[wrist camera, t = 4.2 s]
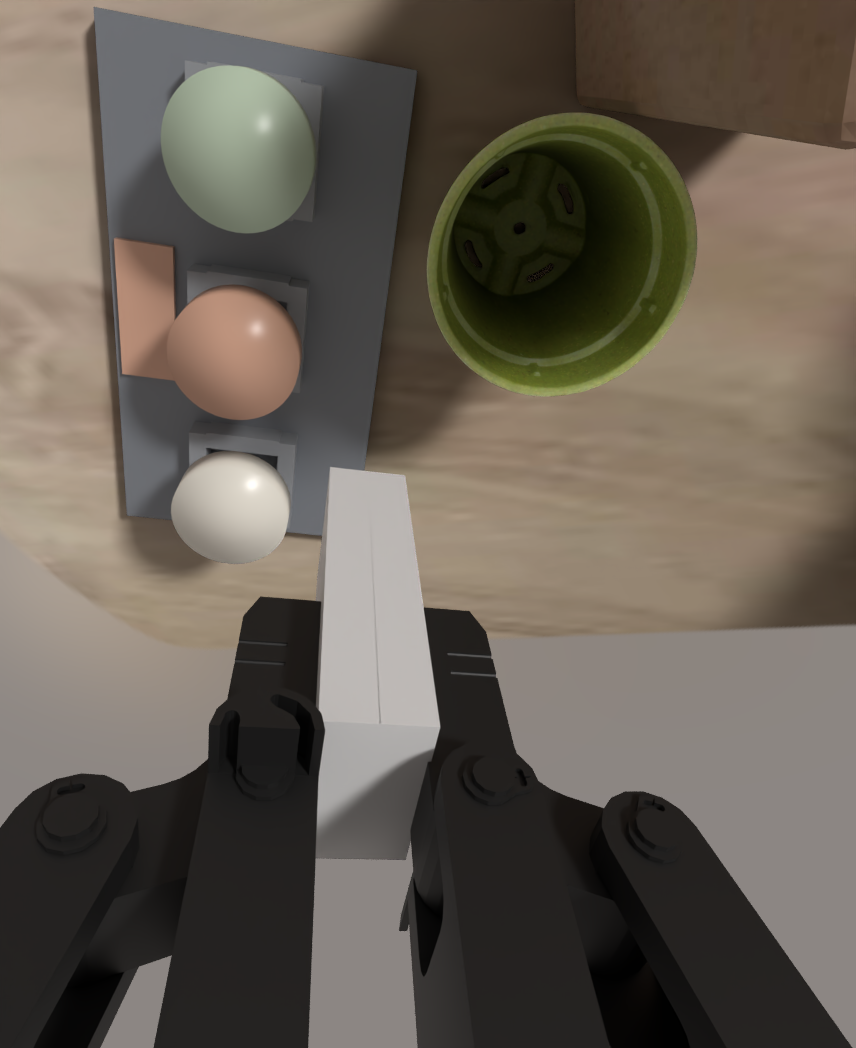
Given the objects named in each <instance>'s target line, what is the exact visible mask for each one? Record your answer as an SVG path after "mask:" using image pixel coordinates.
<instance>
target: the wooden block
mask: <svg viewBox="0 0 856 1048" xmlns="http://www.w3.org/2000/svg"><path fill="white" fill-rule="evenodd" d="M575 37H576V91H577V98H578V100H579V103H580V105H583V106H586V107H590V108H596V109H602V110H608V111H614V112H620V113H626V114H632V115H638V116H644V117H651V118H657V119H663V120H669V121H675V122H681V123H687V124H693V125H699V126H706V127H712V128H718V129H724V130H730V131H736V132H742V133H748V134H754V135H760V136H767V137H773V138H779V139H785V140H791V141H797V142H803V143H809V144H815V145H822V146H828V147H834V148H840V149H853V148H856V0H575Z"/></svg>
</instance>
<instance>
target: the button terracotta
mask: <svg viewBox="0 0 856 1048" xmlns="http://www.w3.org/2000/svg"><path fill="white" fill-rule="evenodd" d="M167 360H168V365H169V368H170V371H171V374H172V376H173V378H174V380H175V382H176V384H177V385H178V387H179V388H180V389H181V391H182V392H183V393H184V394H185V395H186V397H187V398H189V399H190V400H191V401H192V402H193V403H194V404H196V405H197V406H198V407H200V408H201V409H203V410H205V411H207V412H209V413H211V414H213V415H216V416H219V417H222V418H227V419H232V420H249V419H254V418H258V417H262V416H264V415H267V414H269V413H271V412H272V411H274V410H275V409H277V408H278V407H279V406H281V405H282V404H283V403H284V402H285V401H286V399H287V398H288V397H289V395H290V394H291V392H292V390H293V388H294V386H295V383H296V380H297V377H298V373H299V369H300V365H301V360H302V344H301V338H300V335H299V332H298V329H297V327H296V324H295V323H294V321H293V319H292V317H291V316H290V315H289V313H288V312H287V311H286V309H285V308H284V307H283V306H282V305H281V304H280V303H278V302H277V301H276V300H275V299H274V298H272V297H271V296H269V295H268V294H266V293H264V292H262V291H260V290H257V289H255V288H252V287H248V286H243V285H235V284H230V285H220V286H216V287H213V288H210V289H207V290H205V291H203V292H201V293H200V294H198V295H197V296H196V297H194V298H193V299H192V300H191V301H190V302H189V303H188V305H187V306H186V307H185V308H184V309H183V311H182V312H181V313H180V314H179V316H178V317H177V318H176V320H175V321H174V323H173V325H172V327H171V329H170V332H169V335H168V340H167Z"/></svg>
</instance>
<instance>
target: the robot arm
mask: <svg viewBox="0 0 856 1048" xmlns="http://www.w3.org/2000/svg"><path fill="white" fill-rule="evenodd" d="M410 841H411V845H412V859H413V874H412V877H411V881H410V885H409V888H408V892H407V895H406V899H405V903H404V906H403V910H402V914H401V920H400V927H399V931H407V929H408V925H410V926H409V927H410V942H411V956H412V971H413V984H414V1000H415V1014H416V1028H417V1044H418V1048H852V1047H851V1045H850V1044H849V1042H848V1041H847V1040H846V1039H845V1037H844V1035H843V1034H842V1033H841V1031H840V1030H839V1028H838V1027H837V1025H836V1024H835V1023H834V1021H833V1020H832V1019H831V1017H830V1016H829V1014H828V1013H827V1011H826V1010H825V1009H824V1007H823V1006H822V1004H821V1003H820V1001H819V1000H818V999H817V997H816V996H815V994H814V993H813V992H812V990H811V989H810V987H809V986H808V985H807V983H806V982H805V980H804V979H803V977H802V976H801V974H800V973H799V972H798V970H797V969H796V967H795V966H794V965H793V963H792V962H791V960H790V959H789V957H788V956H787V955H786V953H785V952H784V950H783V949H782V948H781V946H780V945H779V943H778V942H777V940H776V939H775V938H774V936H773V935H772V933H771V932H770V931H769V929H768V928H767V926H766V925H765V923H764V922H763V921H762V919H761V918H760V916H759V915H758V914H757V912H756V911H755V909H754V908H753V907H752V905H751V904H750V902H749V901H748V899H747V898H746V897H745V895H744V894H743V892H742V891H741V890H740V888H739V887H738V885H737V884H736V882H735V881H734V880H733V878H732V877H731V876H730V874H729V873H728V871H727V870H726V868H725V867H724V866H723V864H722V863H721V861H720V860H719V858H718V857H717V855H716V854H715V853H714V851H713V850H712V848H711V847H710V846H709V844H708V843H707V841H706V840H705V838H704V837H703V836H702V834H701V833H700V831H699V830H698V829H697V827H696V826H695V825H694V824H693V823H692V822H691V820H690V819H689V818H688V817H687V816H686V815H685V814H684V813H683V812H682V811H681V810H680V809H679V808H677V807H676V806H674V805H673V804H671V803H669V802H668V801H666V800H665V799H663V798H661V797H658V796H655V795H652V794H649V793H646V792H623V793H621V794H619V795H617V796H615V797H612V798H611V799H610V800H609V802H608V803H607V805H606V806H605V808H601V807H598V806H595V805H592V804H589V803H586V802H583V801H579V800H577V799H573V798H570V797H567V796H565V795H562V794H560V793H558V792H556V791H553V790H551V789H549V788H548V787H546V786H545V785H543V784H542V783H540V782H539V781H538V780H537V777H536V776H535V773H534V771H533V769H532V768H531V767H530V766H529V765H528V764H527V763H526V762H525V761H524V760H523V759H522V758H521V757H520V756H519V755H517V753H516V750H515V748H514V744H513V740H512V736H511V732H510V728H509V724H508V720H507V716H506V712H505V708H504V704H503V699H502V696H501V691H500V688H499V684H498V679H497V678H496V671H495V667H494V663H493V659H491V651H490V647H489V642H488V638H487V634H486V631H485V630H484V629H483V628H482V626H481V625H480V624H479V623H478V621H477V620H476V619H475V618H474V616H473V615H472V614H471V613H470V611H460V610H448V609H435V608H424V607H423V600H422V593H421V586H420V579H419V572H418V565H417V557H416V550H415V543H414V536H413V529H412V522H411V515H410V508H409V500H408V493H407V486H406V479H405V475H397V474H388V473H379V472H371V471H362V470H353V469H344V468H335V467H330V473H329V482H328V490H327V499H326V507H325V516H324V524H323V533H322V542H321V550H320V559H319V567H318V576H317V590H316V601H309V600H297V599H284V598H271V597H260V598H259V599H258V600H257V601H256V602H255V603H254V605H253V606H252V607H251V608H250V609H249V610H248V611H247V613H246V614H245V615H244V616H243V621H242V627H241V632H240V637H239V644H238V647H237V652H236V658H235V664H234V668H233V673H232V678H231V684H230V689H229V694H228V699H227V700H226V701H225V702H224V703H223V704H222V705H221V706H219V707H218V708H217V710H216V712H215V714H214V716H213V718H212V720H211V722H210V724H209V751H208V760H207V761H205V762H204V763H203V764H202V765H201V766H199V767H198V768H197V769H196V770H194V771H193V772H191V773H189V774H187V775H186V776H184V777H182V778H180V779H177V780H174V781H171V782H169V783H166V784H162V785H158V786H154V787H150V788H146V789H141V790H137V791H133V792H130V791H129V790H128V789H127V788H126V786H125V785H124V784H123V783H121V782H119V781H116V780H114V779H112V778H110V777H107V776H105V775H95V774H77V775H73V776H69V777H65V778H59V779H56V780H54V781H52V782H50V783H48V784H46V785H44V786H42V787H41V788H39V789H37V790H35V791H33V792H32V793H31V794H30V795H29V796H28V797H27V798H26V799H25V800H24V801H23V802H21V803H20V804H19V805H18V806H17V807H16V808H15V809H14V811H13V812H12V813H11V814H10V816H9V817H8V818H7V820H6V821H5V822H4V824H3V825H2V826H1V828H0V1048H100V1047H101V1045H102V1043H103V1041H104V1038H105V1036H106V1034H107V1032H108V1030H109V1028H110V1026H111V1024H112V1022H113V1020H114V1018H115V1015H116V1013H117V1011H118V1009H119V1007H120V1005H121V1003H122V1001H123V999H124V997H125V994H126V992H127V990H128V988H129V986H130V984H131V982H132V980H133V978H134V975H135V973H136V971H137V969H138V967H139V966H142V965H145V964H147V963H151V962H153V961H156V960H159V959H162V958H165V957H168V956H171V955H172V957H171V962H170V967H169V972H168V977H167V983H166V988H165V993H164V998H163V1003H162V1008H161V1013H160V1018H159V1023H158V1028H157V1033H156V1038H155V1043H154V1048H308V1036H309V1035H308V1034H309V1010H310V984H311V959H312V958H311V957H312V933H313V908H314V883H315V882H314V881H315V858H334V859H337V858H338V859H388V860H406V856H407V852H408V848H409V845H410Z"/></svg>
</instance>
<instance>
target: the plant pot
mask: <svg viewBox="0 0 856 1048" xmlns="http://www.w3.org/2000/svg"><path fill="white" fill-rule="evenodd" d="M502 167H504V168H508V170H509V173H508V174H506V175H504V176H502V177H501V178H499V179H497V180H495V181H494V182H493V183H491V184H490V185H489V186H487V187H486V188H485V189H483V188H481V186H482V181H483V180H485V178H487V177H488V176H489V175H491V174H492V173H493V172H495V171H496V170H498V169H501V168H502ZM558 184H563V185H564V186H566V187H567V188H568V190H569V192H570V196H571V198H572V200H573V209H574V210H573V212H572V214H568V213H567V211H566V207H565V203H564V200H563V198H562V196H561V194H560V193H559V192H558V189H557V186H558ZM521 222H523V223H524V224H525V226H526V228H525V231H524V232H523V233H521V234H517V233H515V231H514V227H515V225H516V224H517V223H521ZM467 240H470V241H471V242H472V246H473V248H474V251H475V253H476V255H477V257H478V259H479V260H480V263H481V264H482V267H481V268H480V267H477V266H475V264H474V263H473V262H472V261H471V260H470V258H469V257H468V255H467V252H466V250H465V242H466V241H467ZM696 254H697V227H696V219H695V213H694V209H693V205H692V202H691V198H690V195H689V193H688V190H687V188H686V185H685V183H684V181H683V179H682V177H681V175H680V173H679V172H678V170H677V169H676V167H675V165H674V164H673V162H672V161H671V160H670V158H669V157H668V156H667V155H666V154H665V153H664V152H663V150H662V149H661V148H660V147H658V145H657V144H656V143H655V142H653V141H652V140H651V139H650V138H649V137H647V136H646V135H645V134H643V133H642V132H640V131H639V130H637V129H635V128H633V127H632V126H630V125H628V124H625V123H623V122H621V121H618V120H616V119H613V118H610V117H607V116H603V115H598V114H592V113H581V112H570V113H559V114H552V115H547V116H543V117H539V118H536V119H533V120H530V121H528V122H525V123H523V124H521V125H518V126H516V127H514V128H512V129H510V130H509V131H507V132H505V133H504V134H502V135H500V136H499V137H497V138H496V139H494V140H493V141H492V142H491V143H489V144H488V145H487V146H486V147H484V148H483V149H482V150H481V151H480V152H479V153H478V154H477V155H476V156H475V157H474V158H473V159H472V160H471V161H470V162H469V163H468V164H467V165H466V167H465V168H464V169H463V170H462V172H461V173H460V174H459V176H458V177H457V179H456V180H455V181H454V183H453V185H452V186H451V188H450V189H449V191H448V193H447V195H446V196H445V198H444V201H443V203H442V205H441V207H440V209H439V212H438V214H437V216H436V220H435V223H434V226H433V229H432V233H431V237H430V242H429V248H428V256H427V284H428V293H429V298H430V302H431V306H432V309H433V313H434V316H435V319H436V322H437V324H438V326H439V328H440V330H441V332H442V334H443V336H444V338H445V340H446V341H447V343H448V344H449V346H450V347H451V348H452V350H453V351H454V353H455V354H456V355H457V356H458V357H459V359H460V360H461V361H462V362H463V363H464V364H465V365H467V366H468V367H469V368H470V369H471V370H473V371H474V372H475V373H477V374H478V375H479V376H481V377H482V378H484V379H486V380H487V381H489V382H490V383H492V384H494V385H496V386H499V387H501V388H503V389H506V390H509V391H512V392H515V393H520V394H524V395H530V396H562V395H570V394H575V393H580V392H584V391H587V390H590V389H593V388H596V387H598V386H600V385H602V384H605V383H606V382H608V381H610V380H612V379H614V378H616V377H618V376H620V375H621V374H623V373H624V372H626V371H627V370H629V369H630V368H632V367H633V366H634V365H635V364H637V363H638V362H639V361H640V360H641V359H642V358H644V357H645V356H646V355H647V354H648V353H649V352H650V351H651V350H652V349H653V348H654V347H655V346H656V345H657V344H658V342H659V341H660V340H661V339H662V338H663V337H664V335H665V334H666V332H667V331H668V329H669V327H670V326H671V324H672V323H673V321H674V320H675V318H676V316H677V314H678V313H679V311H680V309H681V307H682V305H683V303H684V301H685V298H686V296H687V293H688V290H689V287H690V284H691V280H692V277H693V273H694V269H695V262H696ZM550 263H552V264H554V265H553V270H552V271H550V272H549V273H547V274H545V275H544V276H543V277H542V278H541V279H539V280H537V281H534V282H529V281H527V277H528V276H529V275H532V274H534V273H535V272H538V271H540V270H541V269H543V268H544V267H546V266H548V265H549V264H550Z"/></svg>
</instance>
